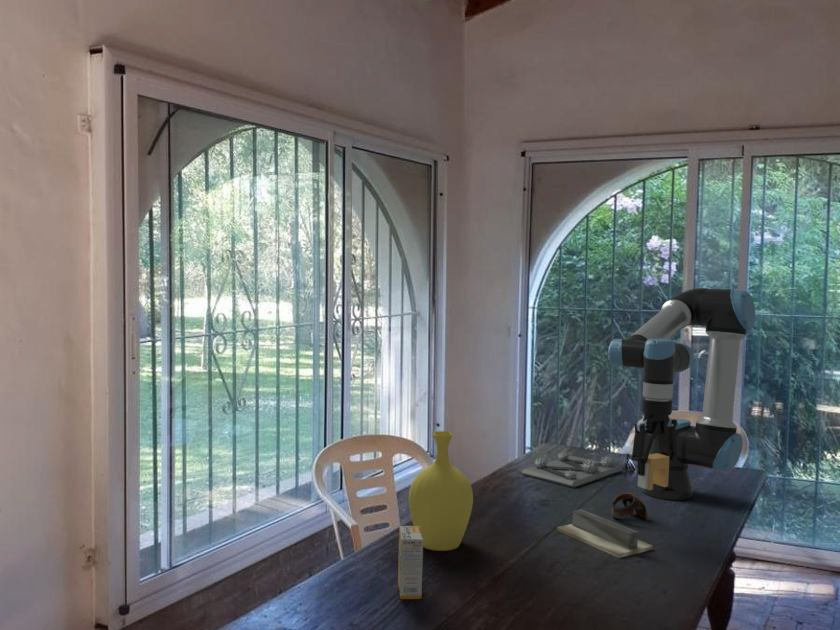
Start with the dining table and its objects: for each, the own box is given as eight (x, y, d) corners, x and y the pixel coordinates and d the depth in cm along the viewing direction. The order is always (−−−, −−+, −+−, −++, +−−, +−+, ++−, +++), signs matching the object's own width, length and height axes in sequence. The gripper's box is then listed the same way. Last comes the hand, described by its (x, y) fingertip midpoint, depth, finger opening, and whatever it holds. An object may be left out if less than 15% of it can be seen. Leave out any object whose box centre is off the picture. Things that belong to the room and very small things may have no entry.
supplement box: (396, 583, 177) (398, 525, 176) (418, 583, 177) (420, 525, 176) (399, 599, 168) (400, 538, 167) (422, 599, 169) (423, 538, 168)
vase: (478, 537, 207) (482, 430, 205) (461, 559, 192) (465, 443, 190) (419, 529, 212) (422, 424, 210) (398, 549, 197) (401, 436, 195)
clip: (655, 482, 215) (657, 453, 214) (667, 486, 211) (669, 456, 211) (637, 486, 211) (639, 456, 210) (649, 490, 207) (651, 459, 207)
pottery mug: (654, 526, 222) (642, 502, 219) (621, 538, 223) (610, 515, 221) (644, 502, 233) (634, 480, 231) (614, 514, 235) (603, 491, 233)
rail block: (589, 523, 221) (590, 505, 220) (652, 549, 202) (653, 530, 202) (557, 530, 214) (557, 512, 214) (618, 558, 196) (619, 538, 195)
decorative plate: (569, 461, 291) (570, 442, 290) (622, 473, 276) (623, 453, 275) (519, 476, 269) (520, 455, 268) (574, 490, 254) (575, 468, 254)
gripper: (671, 393, 218) (667, 476, 219) (619, 399, 207) (615, 486, 209) (694, 398, 211) (689, 483, 213) (641, 404, 201) (637, 494, 202)
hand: (652, 485), depth 211 cm, fingers closed on clip, 7 cm apart
